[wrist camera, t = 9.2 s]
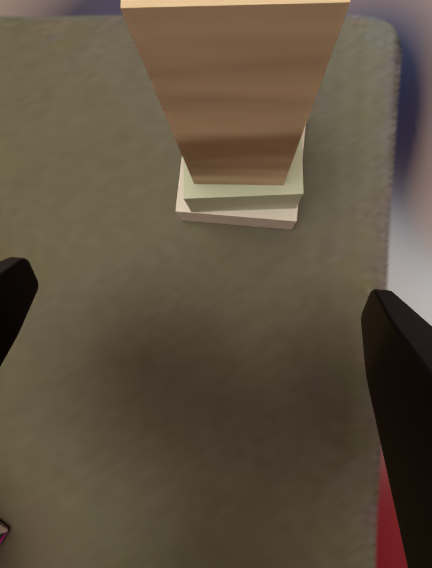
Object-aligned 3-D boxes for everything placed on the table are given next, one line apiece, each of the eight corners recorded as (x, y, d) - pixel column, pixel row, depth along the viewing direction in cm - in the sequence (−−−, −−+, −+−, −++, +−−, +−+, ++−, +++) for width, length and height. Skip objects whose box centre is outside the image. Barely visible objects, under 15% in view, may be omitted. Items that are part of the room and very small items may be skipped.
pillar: (283, 185, 17) (350, 2, 6) (193, 183, 17) (120, 8, 7) (286, 97, 17) (356, -220, 7) (197, 97, 17) (132, -203, 7)
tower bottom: (290, 231, 22) (296, 221, 19) (183, 222, 22) (175, 211, 20) (300, 125, 22) (307, 102, 20) (195, 119, 23) (188, 97, 20)
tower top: (296, 208, 19) (303, 193, 17) (191, 212, 20) (183, 198, 17) (293, 106, 20) (299, 78, 17) (190, 113, 20) (182, 86, 18)
